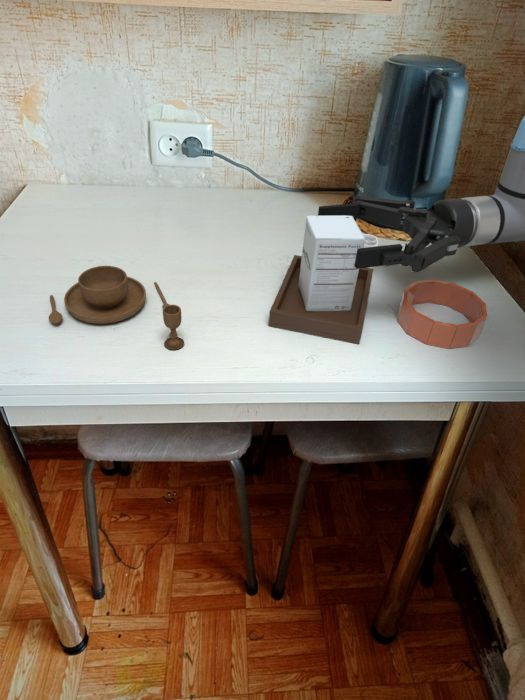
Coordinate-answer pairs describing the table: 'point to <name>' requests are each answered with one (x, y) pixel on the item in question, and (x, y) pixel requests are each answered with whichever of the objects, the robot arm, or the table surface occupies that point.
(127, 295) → the place setting
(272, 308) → the tray
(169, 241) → the table surface
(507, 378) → the table surface
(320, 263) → the white packaging box
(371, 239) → the white jar
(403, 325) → the terracotta ring
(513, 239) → the robot arm
